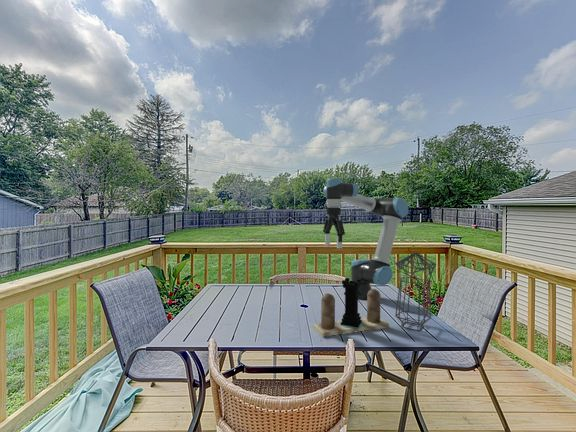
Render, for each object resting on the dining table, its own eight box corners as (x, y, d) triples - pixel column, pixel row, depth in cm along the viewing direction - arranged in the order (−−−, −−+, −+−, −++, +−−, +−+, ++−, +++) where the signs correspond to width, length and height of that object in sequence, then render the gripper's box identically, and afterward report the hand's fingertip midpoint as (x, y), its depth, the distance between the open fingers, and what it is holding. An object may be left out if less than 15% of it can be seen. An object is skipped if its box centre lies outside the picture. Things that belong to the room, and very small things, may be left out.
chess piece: (361, 321, 141) (362, 279, 141) (358, 327, 134) (358, 282, 134) (345, 318, 145) (345, 277, 144) (340, 324, 137) (340, 280, 137)
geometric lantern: (401, 318, 152) (404, 249, 152) (435, 326, 142) (438, 252, 142) (390, 327, 140) (392, 252, 139) (425, 337, 130) (429, 256, 129)
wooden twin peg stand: (375, 319, 150) (375, 285, 150) (389, 327, 140) (390, 291, 139) (312, 328, 139) (312, 291, 139) (323, 337, 128) (323, 298, 128)
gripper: (317, 207, 172) (317, 244, 173) (338, 207, 149) (338, 249, 149) (329, 207, 175) (329, 244, 175) (351, 207, 151) (351, 249, 152)
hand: (333, 246), depth 162 cm, fingers open, 13 cm apart
